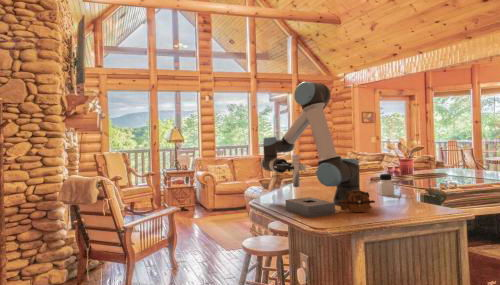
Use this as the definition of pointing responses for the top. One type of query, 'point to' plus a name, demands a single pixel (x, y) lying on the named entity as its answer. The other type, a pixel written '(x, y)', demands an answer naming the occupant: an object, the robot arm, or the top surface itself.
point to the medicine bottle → (385, 185)
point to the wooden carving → (356, 201)
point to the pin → (295, 173)
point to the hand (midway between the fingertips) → (301, 168)
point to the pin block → (310, 207)
